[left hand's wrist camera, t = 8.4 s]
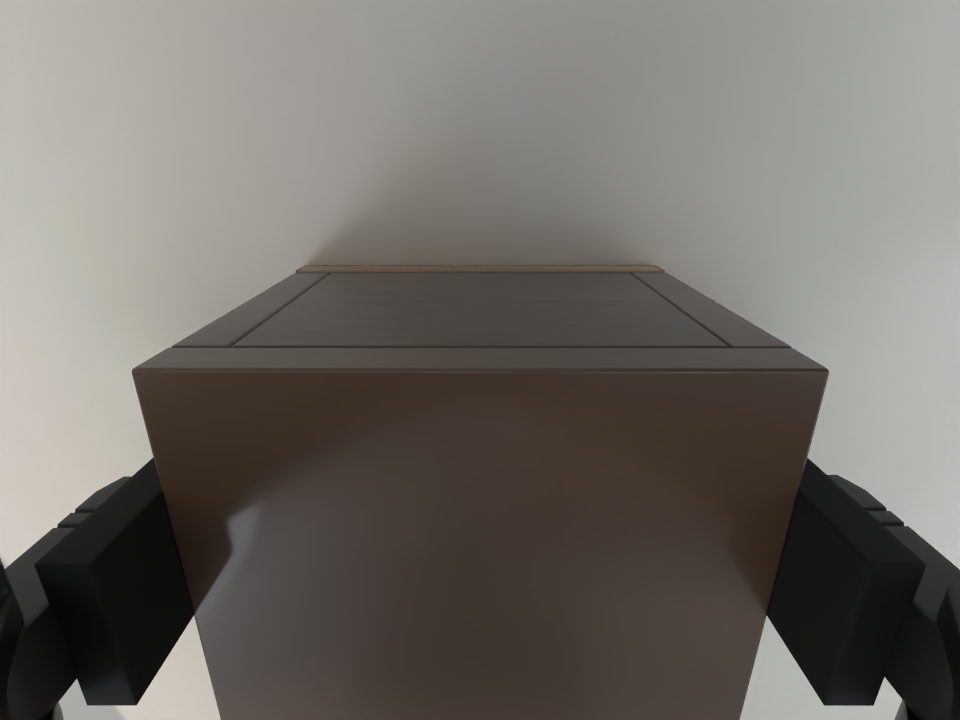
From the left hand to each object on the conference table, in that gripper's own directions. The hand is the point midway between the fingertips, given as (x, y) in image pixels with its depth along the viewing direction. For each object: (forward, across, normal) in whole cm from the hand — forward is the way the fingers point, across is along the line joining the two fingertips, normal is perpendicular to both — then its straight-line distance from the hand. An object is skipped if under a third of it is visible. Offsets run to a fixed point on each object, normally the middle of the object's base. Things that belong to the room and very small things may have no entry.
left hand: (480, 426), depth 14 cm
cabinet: (+3, 0, -3) cm, 5 cm away
